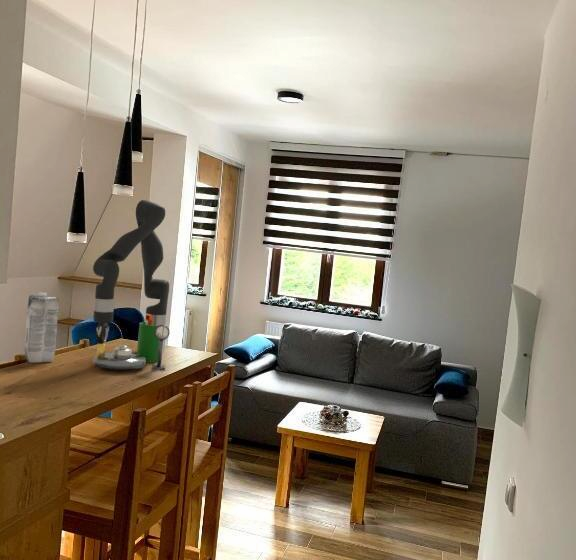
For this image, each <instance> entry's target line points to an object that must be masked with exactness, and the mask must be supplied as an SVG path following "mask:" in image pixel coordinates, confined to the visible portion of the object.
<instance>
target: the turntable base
mask: <svg viewBox="0 0 576 560" xmlns="http://www.w3.org/2000/svg"><path fill="white" fill-rule="evenodd" d="M107 369H109V370H114V371H129V369H111V368H107Z"/></svg>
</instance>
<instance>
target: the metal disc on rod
mask: <svg viewBox="0 0 576 560" xmlns="http://www.w3.org/2000/svg"><path fill="white" fill-rule="evenodd" d="M170 332H171V331H170V328H169V327H168V326H167V325H166V324H165V325H159V326H157V327H156V328H155V331H154V334H155V337H156V338H157V339H159V349H158V360H157V362H156V364H152V369H151V370H154V371H166V365H165V364H162V359H163V358H162V357H163V351H162V349H163V340H165V341H166V340H167V339H168V338H169V336H170Z"/></svg>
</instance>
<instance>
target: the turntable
mask: <svg viewBox="0 0 576 560" xmlns="http://www.w3.org/2000/svg"><path fill="white" fill-rule="evenodd" d="M106 345H107V344H106V343H97V347H96V349H97V351H96V354H95V355H94V356H93V365H95V366H98V367H100V368H106V369H108V368H111V369H110V370H112V369H130V370H134V369H135V370H137V369H140V368H143V367H145V366H146V363H147V362H146V358H145V357H143V356H141V355H137V353H132V357H131V359H128V360H120V359H115V358H113V355H114V351H113V352H106Z"/></svg>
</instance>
